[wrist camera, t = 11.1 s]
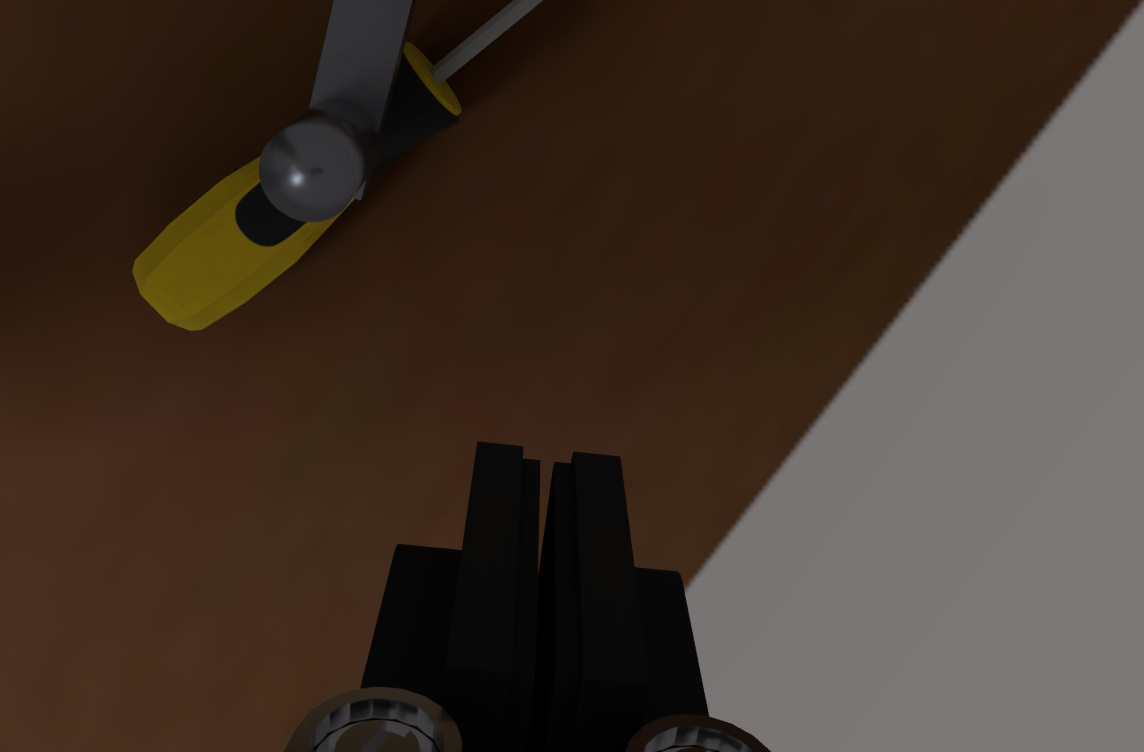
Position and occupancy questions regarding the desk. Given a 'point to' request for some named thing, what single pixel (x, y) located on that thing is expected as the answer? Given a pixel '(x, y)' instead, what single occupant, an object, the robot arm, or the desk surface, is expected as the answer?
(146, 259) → the screwdriver
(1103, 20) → the desk surface
